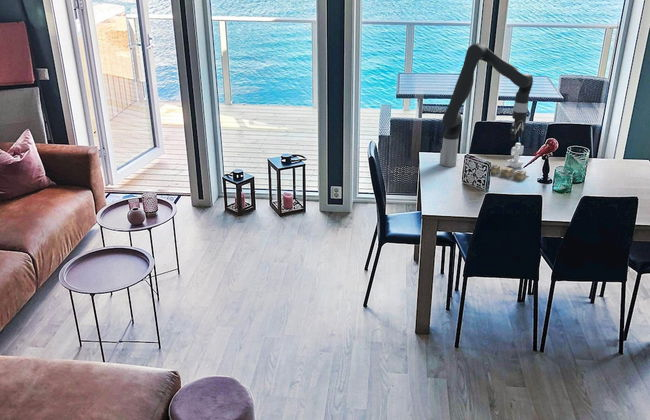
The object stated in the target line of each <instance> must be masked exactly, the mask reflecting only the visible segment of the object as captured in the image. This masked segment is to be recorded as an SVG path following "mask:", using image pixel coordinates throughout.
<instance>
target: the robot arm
mask: <svg viewBox="0 0 650 420" xmlns="http://www.w3.org/2000/svg"><path fill="white" fill-rule="evenodd" d="M479 61H483V62H485V63H487V64H489V65H490V66H492V68H493V69H494V70H495V71H496V72H498V73H499V74H500V75H501V76H503V77H505V78H507V79H508V80H509V81H510V82H511V83H513V84H514V85H515V86H516V87H518V91H516V94H515V98H514V104H513V108H512V114H511V115H512V117H511V118H512V119H513V120H514V121H513V122H511V124H510V129H509V133H510V134H511V135H510V136H511V137H510V140H511V141H516V137H518V138H522V136H523V131H524V130H525V129H526V122H527V116H528V108H529V98H530V93H531V90H532V87H533V84H534V78H533V76H532V74H530V73H528V72H526V73H522V72H520V71H519V69H518V67H516V66H515V65H513V64H511V63H510V62H507V61H506V60H504V59H503V58H502V57H500V56H498V54H495V53H494V52H493V51H492V50H491V49H489V47H487V46H486V44H483V43H481V42H479V43H478V42H477V43H475V44H471V45H470V46H468V47H467V50H466V52H465V57H464V61H463V64H462V67H461V70H460V72H459V75H458V78H457V80H456V83H455V86H454V88H453V92H452V95H451V98H450V101H449V103H448V105H447V108H446V110H445V112H444V113H443V117H442V125H443V126H444V127H445V131H443V134H442V135H443V136H442V145H441V147H442V148H441V149H440V155H439V165H441V166H443V167H445V168H446V167H447V168H453V167H456V166H457V161H458V159H457V158H458V147H459V139H460V138H459V137H460V134H461V132H462V131H461V129H462V122H463V121H462V120H463V119H462V118H463V117H462V114H461V113H460V111H461V110H460V109H461V108H462V106H463V104H464V103H465V102H466V100H467V99H468V97H469V95H470V93H471V90H472V88H473V86H474V82H475V81H474V79H475V78H474V76H475V71H476V67H477V65H478V63H479Z"/></svg>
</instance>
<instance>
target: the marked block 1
mask: <svg viewBox="0 0 650 420" xmlns="http://www.w3.org/2000/svg"><path fill="white" fill-rule="evenodd" d="M490 165H491V173H493V174H497V173H499V172H500V170H501V165H499V164H495V163H491V164H490Z"/></svg>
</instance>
